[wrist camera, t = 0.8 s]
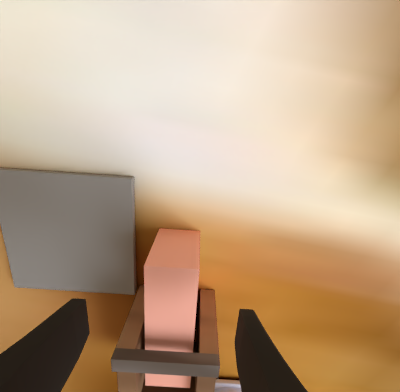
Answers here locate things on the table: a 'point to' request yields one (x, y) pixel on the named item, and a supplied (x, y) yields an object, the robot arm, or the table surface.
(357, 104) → the table surface
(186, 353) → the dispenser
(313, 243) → the table surface
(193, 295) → the pink eraser brick
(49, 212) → the pad
